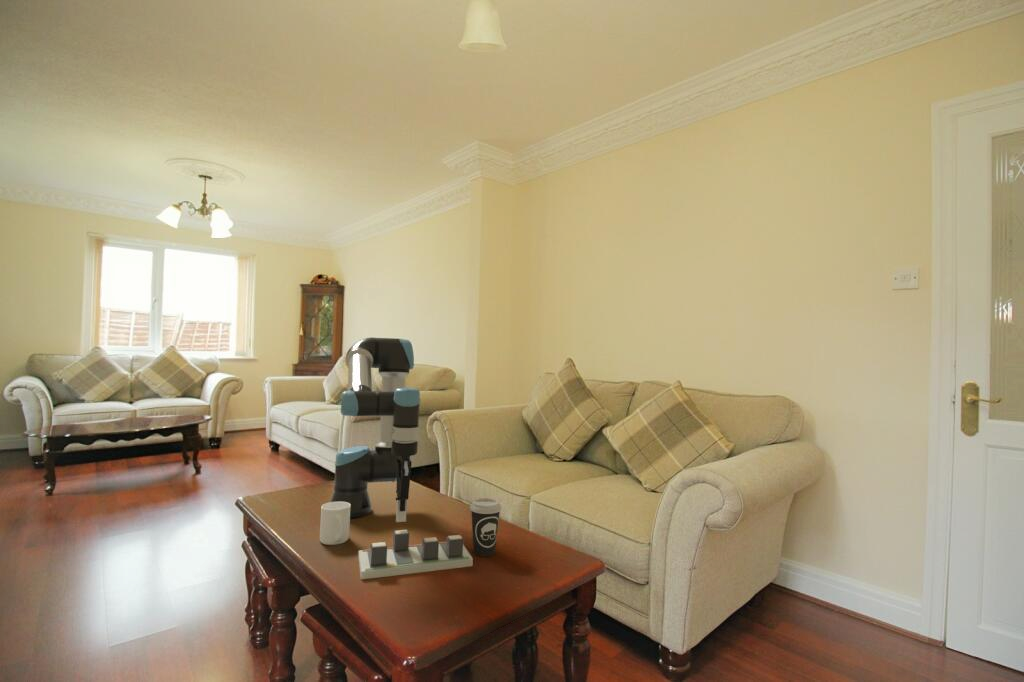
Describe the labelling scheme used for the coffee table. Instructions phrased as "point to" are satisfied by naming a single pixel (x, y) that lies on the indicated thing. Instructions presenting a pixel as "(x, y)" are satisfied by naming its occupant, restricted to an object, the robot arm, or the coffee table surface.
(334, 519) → the mug
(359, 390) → the robot arm
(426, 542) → the block
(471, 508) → the coffee cup
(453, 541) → the block
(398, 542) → the block
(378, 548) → the block
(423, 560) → the panel
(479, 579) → the coffee table surface
